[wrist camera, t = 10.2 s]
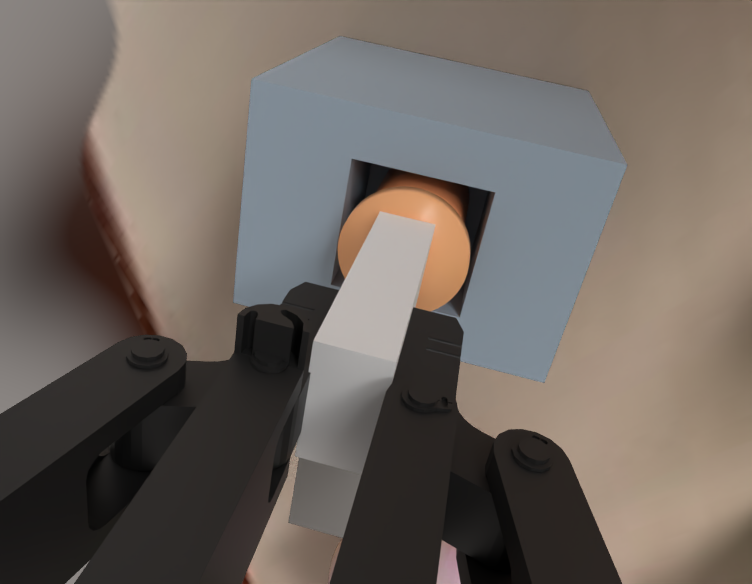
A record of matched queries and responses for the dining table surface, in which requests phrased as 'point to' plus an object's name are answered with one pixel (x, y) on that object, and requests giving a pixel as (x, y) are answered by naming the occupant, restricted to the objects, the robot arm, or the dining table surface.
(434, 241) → the plunger
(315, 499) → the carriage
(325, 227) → the housing
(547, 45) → the dining table surface
